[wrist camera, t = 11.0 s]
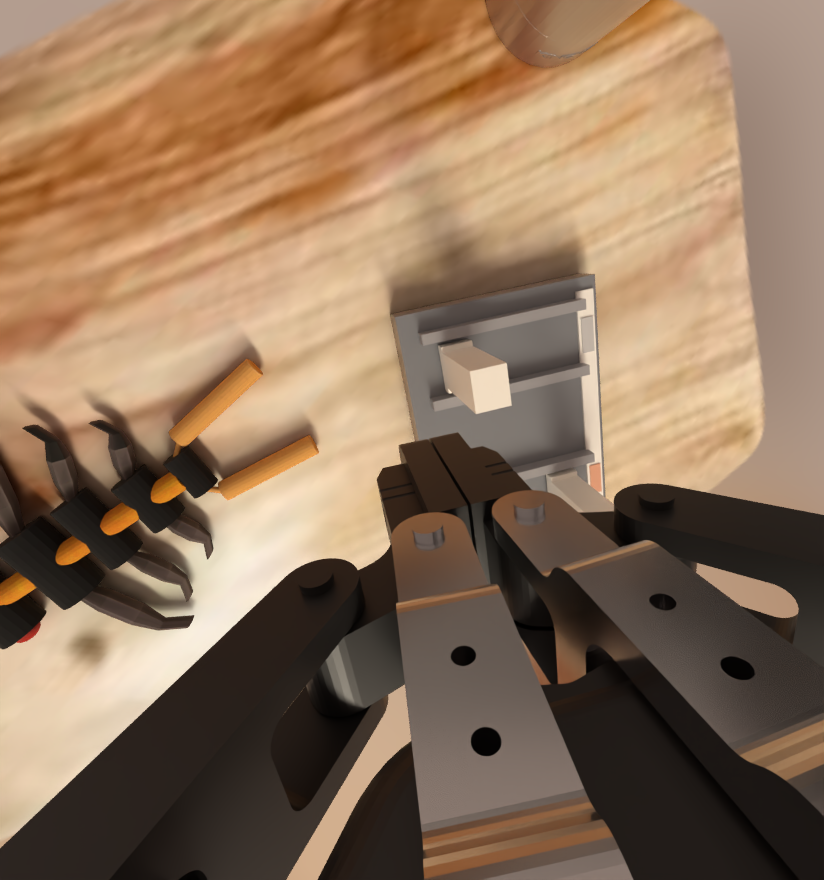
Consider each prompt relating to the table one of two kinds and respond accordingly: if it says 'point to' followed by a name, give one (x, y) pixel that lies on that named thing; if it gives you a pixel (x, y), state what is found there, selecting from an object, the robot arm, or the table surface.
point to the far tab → (577, 492)
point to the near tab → (475, 376)
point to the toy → (119, 520)
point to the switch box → (515, 375)
